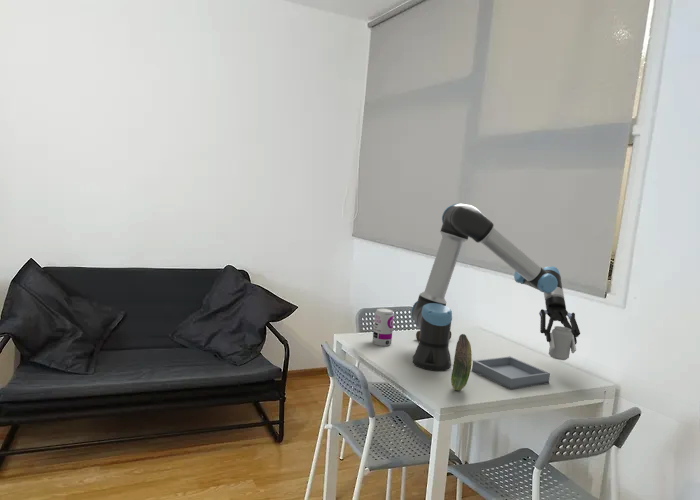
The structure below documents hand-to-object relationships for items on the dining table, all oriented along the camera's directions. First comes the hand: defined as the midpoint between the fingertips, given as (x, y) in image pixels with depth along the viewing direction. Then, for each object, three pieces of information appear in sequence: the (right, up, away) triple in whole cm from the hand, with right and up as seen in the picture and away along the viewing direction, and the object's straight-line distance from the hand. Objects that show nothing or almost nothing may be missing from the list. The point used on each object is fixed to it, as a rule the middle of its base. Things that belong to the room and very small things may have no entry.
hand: (563, 350), depth 199 cm
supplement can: (-68, -3, +29) cm, 74 cm away
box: (-21, -10, -1) cm, 23 cm away
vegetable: (-44, -10, -19) cm, 49 cm away
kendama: (-43, -4, +43) cm, 61 cm away
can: (0, -4, +4) cm, 6 cm away
